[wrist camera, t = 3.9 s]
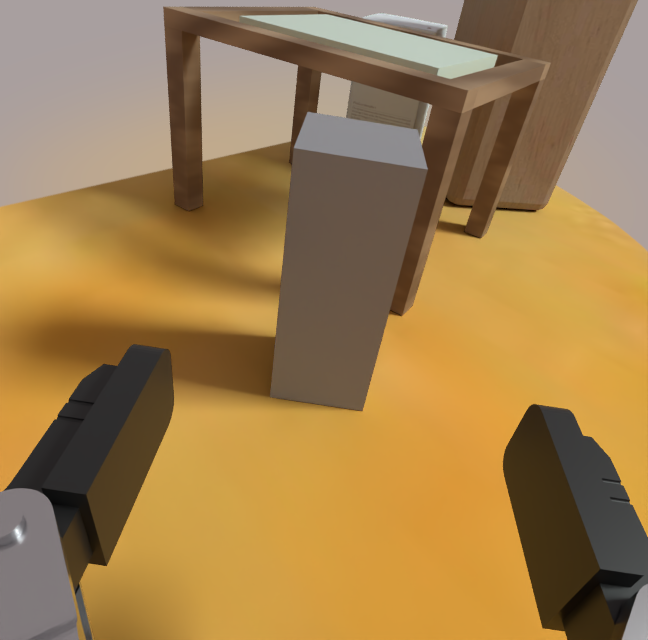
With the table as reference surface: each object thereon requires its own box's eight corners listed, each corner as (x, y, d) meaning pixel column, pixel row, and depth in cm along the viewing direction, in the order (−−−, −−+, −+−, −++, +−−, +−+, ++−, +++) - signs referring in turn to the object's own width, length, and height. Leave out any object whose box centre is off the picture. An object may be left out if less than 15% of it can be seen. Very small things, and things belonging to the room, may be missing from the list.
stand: (174, 204, 38) (163, 6, 30) (298, 159, 49) (314, 6, 41) (402, 315, 30) (468, 90, 22) (486, 232, 41) (551, 62, 33)
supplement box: (419, 150, 56) (451, 24, 49) (404, 169, 51) (437, 30, 43) (359, 135, 58) (381, 10, 50) (338, 151, 52) (359, 14, 45)
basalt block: (270, 397, 23) (293, 147, 16) (283, 337, 27) (307, 111, 20) (362, 411, 23) (427, 169, 16) (363, 349, 27) (417, 129, 20)
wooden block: (547, 214, 46) (665, -48, 34) (449, 208, 44) (537, -72, 32) (502, 173, 54) (586, -53, 42) (417, 166, 52) (478, -73, 40)
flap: (239, 33, 32) (239, 15, 31) (328, 28, 39) (330, 14, 38) (433, 88, 26) (439, 68, 26) (494, 70, 34) (500, 54, 33)
